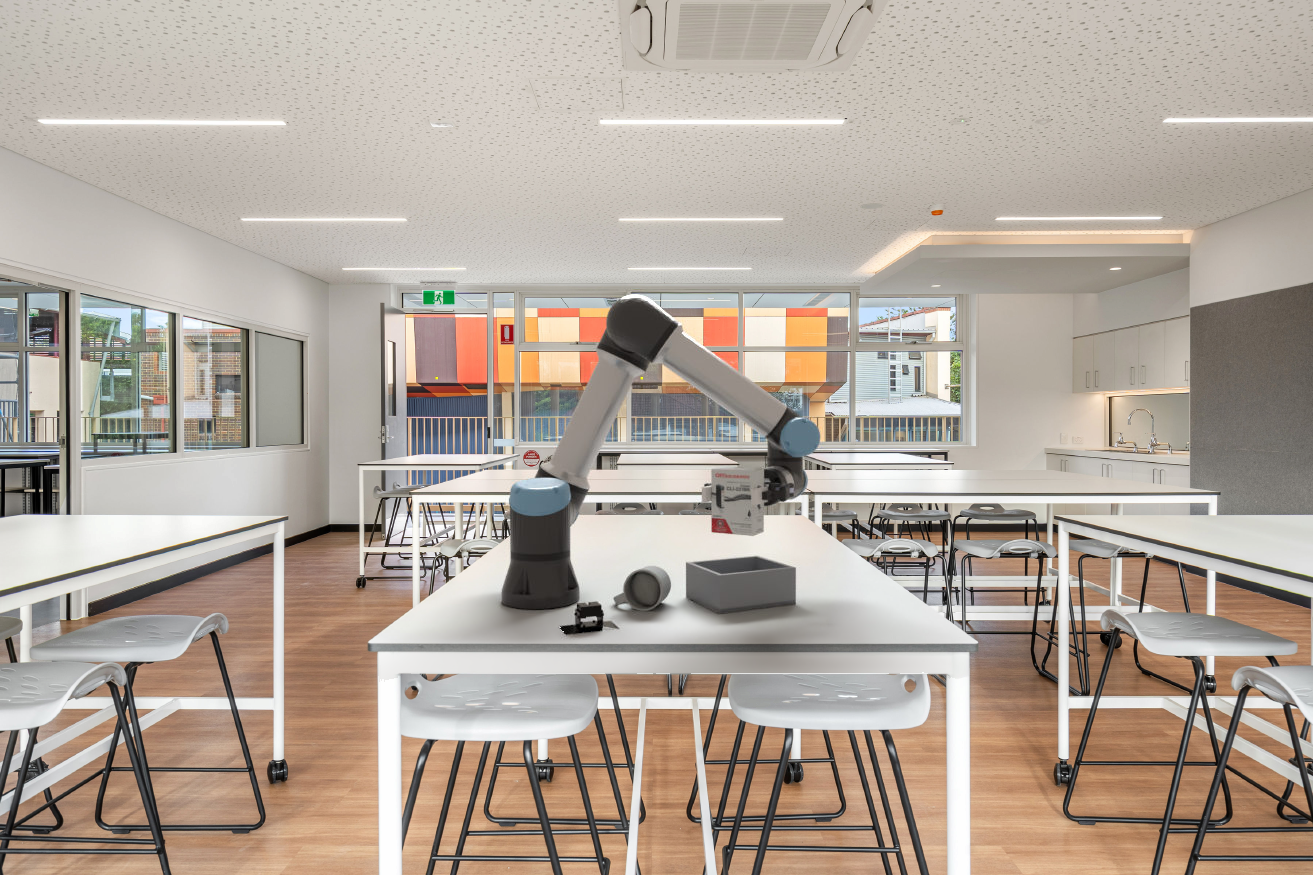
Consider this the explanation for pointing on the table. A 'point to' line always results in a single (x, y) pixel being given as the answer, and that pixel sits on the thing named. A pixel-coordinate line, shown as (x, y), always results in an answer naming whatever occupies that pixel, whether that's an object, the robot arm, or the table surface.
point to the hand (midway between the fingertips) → (728, 496)
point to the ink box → (736, 500)
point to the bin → (740, 583)
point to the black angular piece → (590, 626)
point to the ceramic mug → (645, 588)
